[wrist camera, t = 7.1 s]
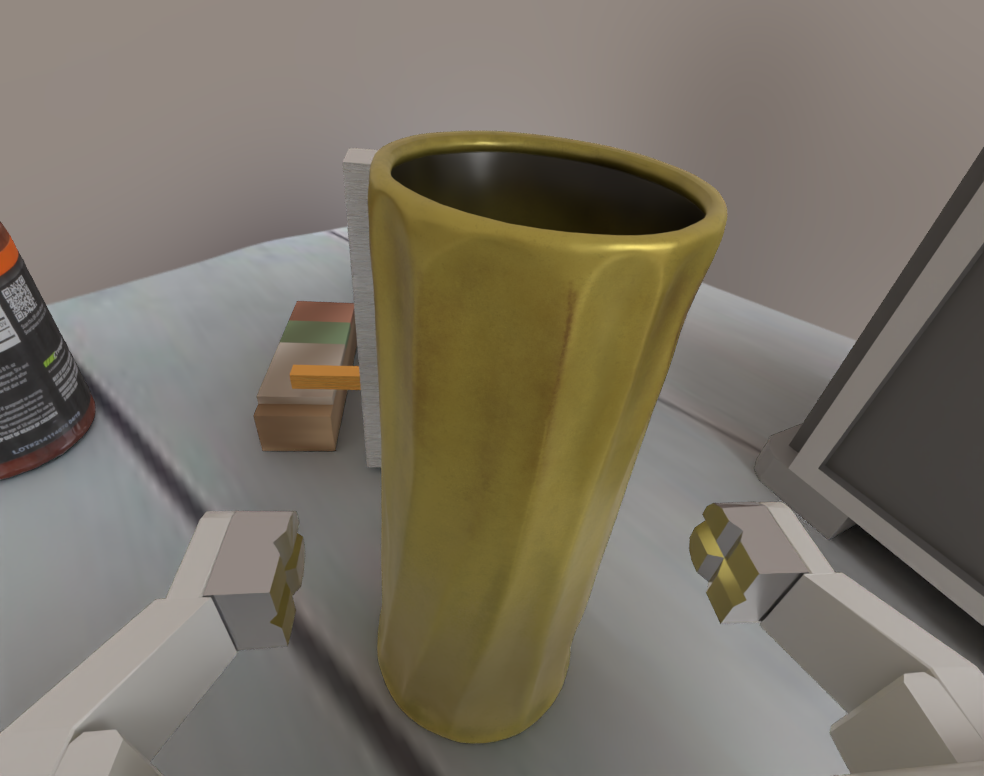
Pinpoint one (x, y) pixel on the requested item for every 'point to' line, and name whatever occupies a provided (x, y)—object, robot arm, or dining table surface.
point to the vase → (514, 398)
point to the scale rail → (306, 412)
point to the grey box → (907, 416)
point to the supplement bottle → (34, 374)
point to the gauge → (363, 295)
